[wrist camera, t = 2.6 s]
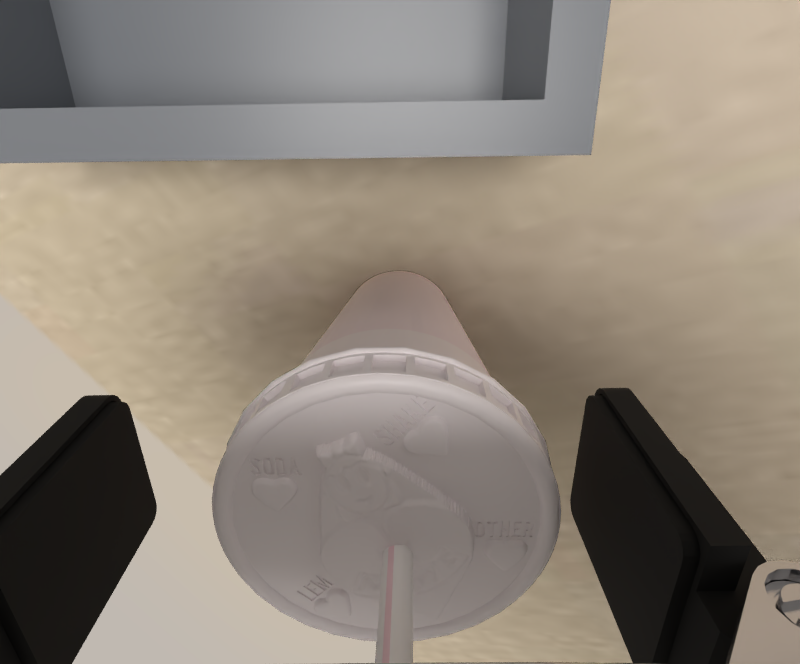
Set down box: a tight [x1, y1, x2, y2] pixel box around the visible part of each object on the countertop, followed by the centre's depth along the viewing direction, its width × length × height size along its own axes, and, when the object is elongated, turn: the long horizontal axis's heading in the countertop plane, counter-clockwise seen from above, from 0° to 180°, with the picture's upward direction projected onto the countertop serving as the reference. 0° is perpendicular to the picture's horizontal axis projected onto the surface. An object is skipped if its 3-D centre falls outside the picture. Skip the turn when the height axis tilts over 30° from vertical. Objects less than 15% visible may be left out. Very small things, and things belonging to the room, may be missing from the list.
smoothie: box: [212, 271, 561, 663], centre depth 12 cm, size 6×6×14 cm
